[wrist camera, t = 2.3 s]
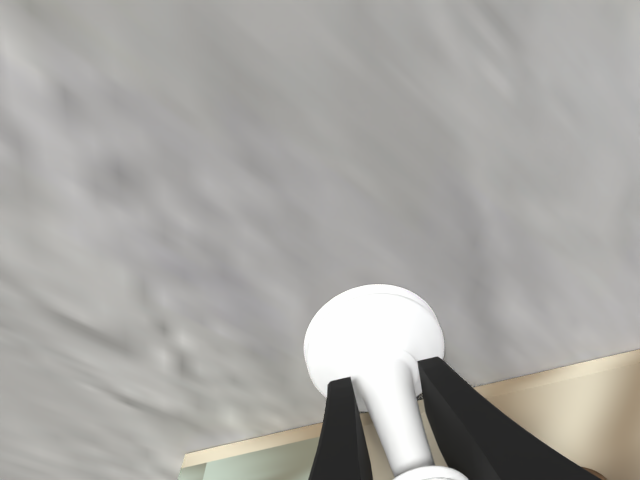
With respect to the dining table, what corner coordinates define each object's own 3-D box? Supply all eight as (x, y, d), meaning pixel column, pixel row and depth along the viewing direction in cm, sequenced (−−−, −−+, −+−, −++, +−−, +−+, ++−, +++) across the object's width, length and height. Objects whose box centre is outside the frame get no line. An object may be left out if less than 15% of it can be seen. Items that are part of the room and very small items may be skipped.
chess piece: (326, 268, 12) (455, 880, 2) (461, 301, 13) (949, 859, 3) (288, 386, 13) (276, 1042, 4) (410, 409, 14) (640, 999, 5)
